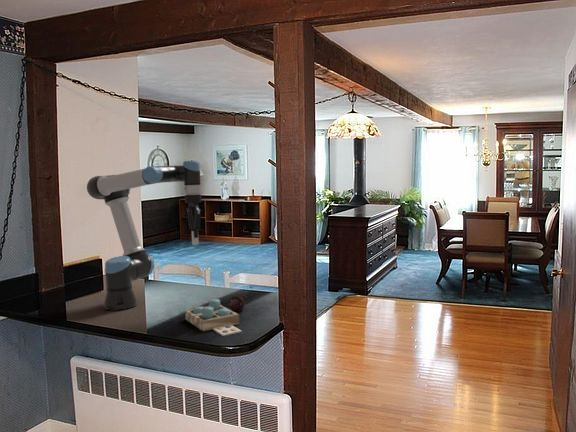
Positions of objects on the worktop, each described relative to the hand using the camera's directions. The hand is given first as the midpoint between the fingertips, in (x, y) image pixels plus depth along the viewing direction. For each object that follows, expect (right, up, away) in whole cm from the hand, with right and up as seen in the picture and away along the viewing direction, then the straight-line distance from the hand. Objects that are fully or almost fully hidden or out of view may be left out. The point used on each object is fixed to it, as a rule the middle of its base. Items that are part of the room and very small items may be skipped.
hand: (195, 244), depth 241 cm
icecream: (+20, -30, -8) cm, 37 cm away
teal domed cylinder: (+11, -29, -29) cm, 43 cm away
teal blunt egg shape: (+12, -28, -17) cm, 35 cm away
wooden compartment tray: (+11, -32, -23) cm, 41 cm away
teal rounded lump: (+6, -31, -21) cm, 38 cm away
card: (+19, -33, -36) cm, 52 cm away
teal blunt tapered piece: (+17, -31, -25) cm, 43 cm away
